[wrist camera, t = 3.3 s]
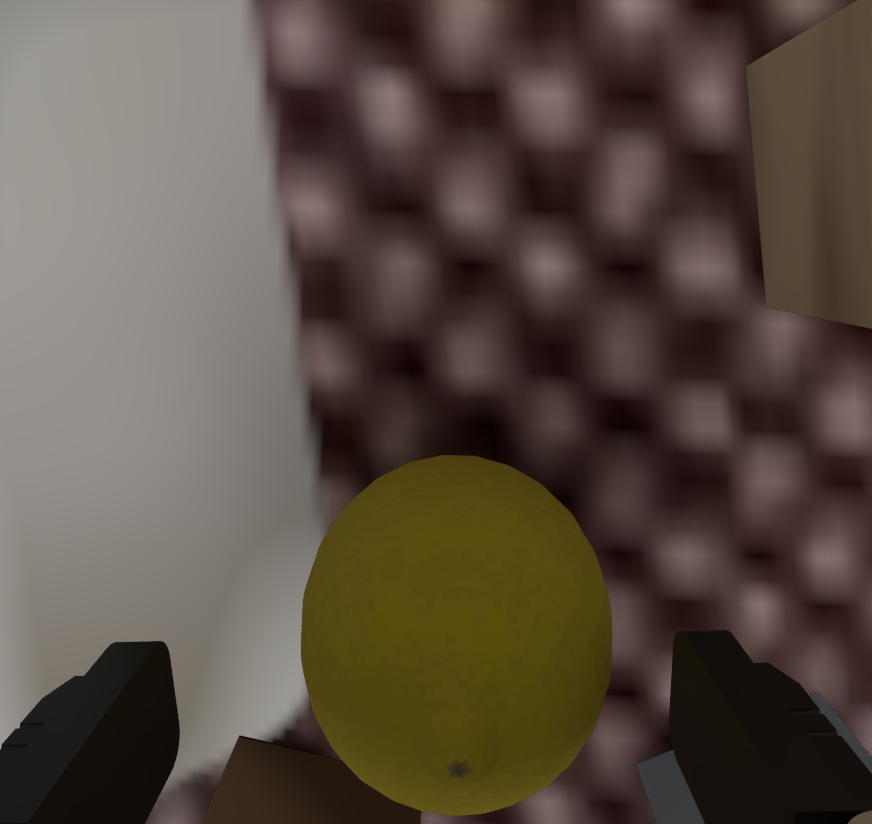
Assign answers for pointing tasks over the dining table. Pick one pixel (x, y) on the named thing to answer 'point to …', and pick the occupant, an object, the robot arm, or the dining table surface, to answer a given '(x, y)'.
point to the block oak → (816, 168)
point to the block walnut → (297, 791)
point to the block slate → (672, 793)
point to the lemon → (456, 636)
